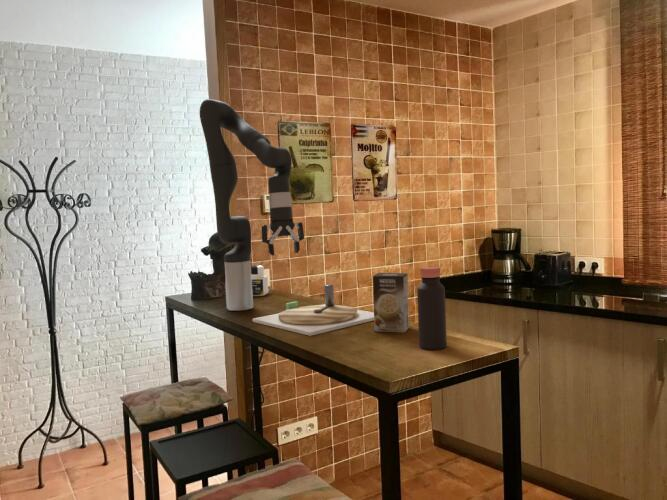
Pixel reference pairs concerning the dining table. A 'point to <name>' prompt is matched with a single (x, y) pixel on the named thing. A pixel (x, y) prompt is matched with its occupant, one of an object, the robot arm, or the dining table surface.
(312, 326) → the gauge plate
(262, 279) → the medicine bottle
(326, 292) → the tan round piece
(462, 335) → the dining table surface
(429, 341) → the dark grey water bottle
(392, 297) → the coffee box
